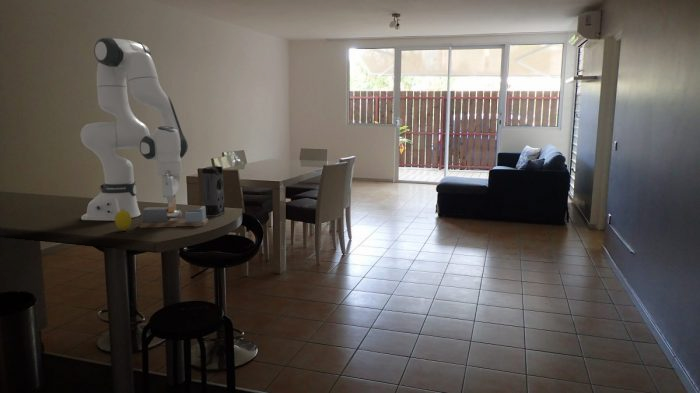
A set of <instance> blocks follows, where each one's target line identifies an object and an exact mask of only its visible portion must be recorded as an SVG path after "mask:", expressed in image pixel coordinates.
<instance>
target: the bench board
mask: <svg viewBox="0 0 700 393" xmlns="http://www.w3.org/2000/svg"><path fill="white" fill-rule="evenodd" d="M208 222H209V217H208V218H207V217H206V219H205V220H204V221H203V222H186V220H185V217H184V218H171V220H170V221H168V222H157V223H143V221H140V223H139V224H138V225H139V228H177V227H176V226H194V227H204V226H206V224H207V223H208Z"/></svg>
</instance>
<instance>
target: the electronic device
mask: <svg viewBox="0 0 700 393" xmlns="http://www.w3.org/2000/svg"><path fill="white" fill-rule="evenodd" d="M223 171H224V170H223V166H220V165H213V166H212V165H211V166H206V167H203V168H201V172H202V173H201V174H202V175H201V176H202V191H203V192H202V193H203V194H202V195H203V206H205V207H206V218H207V217H208V218H210V217H211V218H216V217H219V216H220V215H223V214H225V211H226V210H225V194H224V193H225V191H224V173H223Z"/></svg>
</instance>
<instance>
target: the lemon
mask: <svg viewBox="0 0 700 393" xmlns="http://www.w3.org/2000/svg"><path fill="white" fill-rule="evenodd" d="M114 222H115V226H116V227H117V228H118V229H119V230H122V231H123V232H124V231H126V230H127V229H128V228H130V227H131V225H132V218H131V216H130V214H129V213H128V212H127V211H124V210H121V211H119V212H118V213H117V214H116V216H115V221H114Z"/></svg>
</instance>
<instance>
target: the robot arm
mask: <svg viewBox="0 0 700 393" xmlns="http://www.w3.org/2000/svg"><path fill="white" fill-rule="evenodd" d="M93 54H94V56H95V60H97V62H98V64H97V68H96V91H97V102H98V103H97V104H98V106H99V109H101V110H102V111H104V112H106V113H108V114H110V115H113V116H114V117H115V118H116V121H98V122H92V123H87V124H85V125H84V126H83V127H81V130H80V140H81V143H82V144H83V145H84V147H85V148H87V149H89V150H90V151H91V152H93V153H94V154H95V155H96V156H97V158H98V159H99V161H100V162H101V164H102V169H103V176H104V183H103V184H101V185H100V186H99V188H98V189H100V193H98V194H97V195H96V196H95V197H94V198H93V199H92V200H91V201H89V203H88V205H87V207H86V213H85V214H83V215H81V217H80V218H81V220H82V221H112V222H113V221H114V222H115V216H116V214H117V213H118V212H119V211H121V210H124V211H127V212H128V213H129V214H130V216H131V219H132V218H136V217H139V216H140V215H141V210H140V209H139V204H138V200H137V197H136V196H137V186H136V181H135V179H134V178H135V174H134V165H133V163H132V161H131V160H130V159H127V158H125V157H123V156H120V155H118V154H117V153H116V150H124V149H127V150H130V149H137V148H139V151H140V153H141V154H140V155H142V156H143V158H145V159H146V160H152V161H154V160H157V161H156V168H157V175H158V176H161V181H162V182H161V185H162V187H161V190H162V197H163V198H166V199H167V207H168V206H169V207H173V206H174V202H173V197H176V194H177V192H178V190H179V189H180V176H181V175H182V174H183V166H182V158H183V157H184V156H185V155H186V153H187V152H188V148H189V144H188V142H187V139H186V137H185V135H184V133H183V130H182V128H181V125H180V122H179V119H178V116H177V114H176V110H175V108H174V105H173V101H172V99H171V98H170V96H169V95H168V94H167V93H165V91H164V90H163V87H162V86H161V84H160V81H159V80H160V79H159V75H158V72H157V69H156V65H155V62H154V60H153V58H152V56H151V55H152V54H151V51H150V48H149V46H147V45H146V44H144V43H142V42H140V41H134V40H130V39H126V38H112V37H102V38H99V39H98V40H96V43H95V44H94V50H93ZM127 85H128V86H127ZM128 87H129V89H128ZM128 90H129V92H130V94H131V96H132V98H133V99H135V100H136V101H137V102H138V103H140V104H141V105H145V106H147V107H150V108H152V109H154V110H155V111H157V112H158V113H159V114H160V115H161V117H162V120H163V124H164V125H162V126H158V127H156V128H155V131H153V132H152V133H151V134H150V130H149V128H148V126H147V125H146V124H145V123H144V122H142V121H141V120H139V119H138V118H137V117H136V115H134V113H133V111H132V109H131V107H130V106H131V105H130V103H129V102H130V101H129V96H128ZM176 198H177V197H176ZM141 216H142V215H141Z"/></svg>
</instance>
